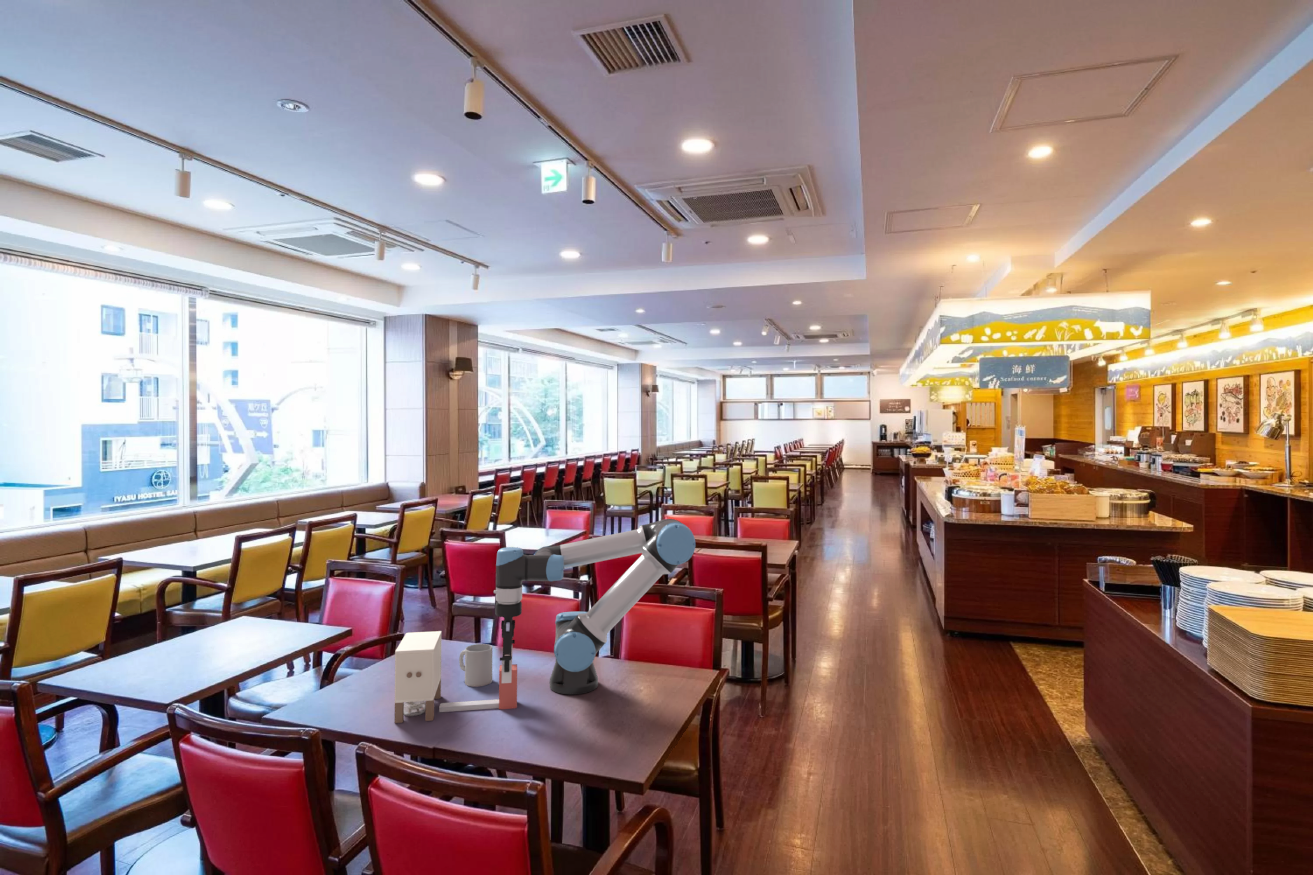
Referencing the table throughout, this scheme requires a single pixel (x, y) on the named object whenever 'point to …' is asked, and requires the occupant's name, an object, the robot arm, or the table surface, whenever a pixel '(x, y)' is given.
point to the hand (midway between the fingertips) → (507, 674)
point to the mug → (477, 664)
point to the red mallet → (504, 702)
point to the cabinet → (418, 672)
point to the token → (414, 708)
